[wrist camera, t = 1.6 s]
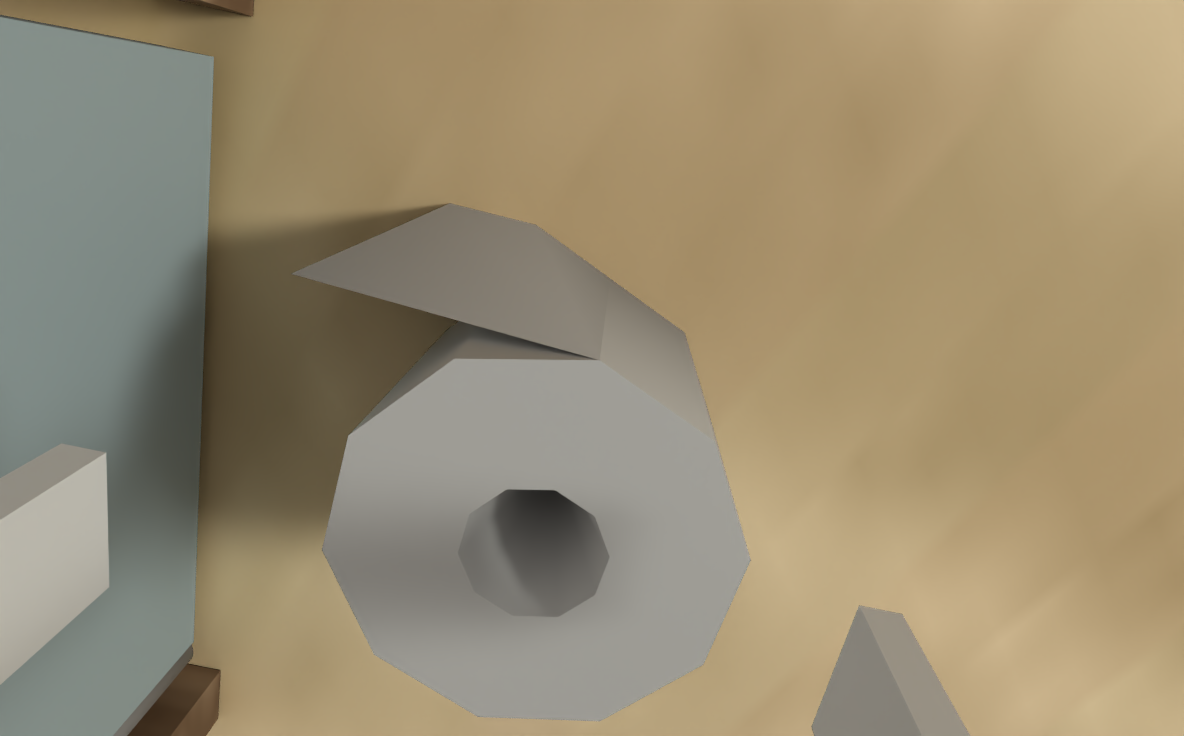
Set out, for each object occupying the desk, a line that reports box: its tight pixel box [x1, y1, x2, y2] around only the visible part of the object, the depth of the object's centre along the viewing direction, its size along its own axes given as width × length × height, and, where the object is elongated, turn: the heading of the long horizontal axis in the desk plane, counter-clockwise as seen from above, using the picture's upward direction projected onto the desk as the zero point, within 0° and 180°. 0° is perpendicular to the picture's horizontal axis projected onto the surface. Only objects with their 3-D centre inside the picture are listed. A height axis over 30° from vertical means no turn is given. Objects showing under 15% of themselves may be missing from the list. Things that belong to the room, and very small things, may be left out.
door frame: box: [127, 0, 254, 736], centre depth 17 cm, size 36×3×14 cm, turn 168°
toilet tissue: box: [292, 203, 751, 721], centre depth 20 cm, size 9×13×9 cm
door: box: [0, 15, 214, 736], centre depth 19 cm, size 22×3×10 cm, turn 168°
